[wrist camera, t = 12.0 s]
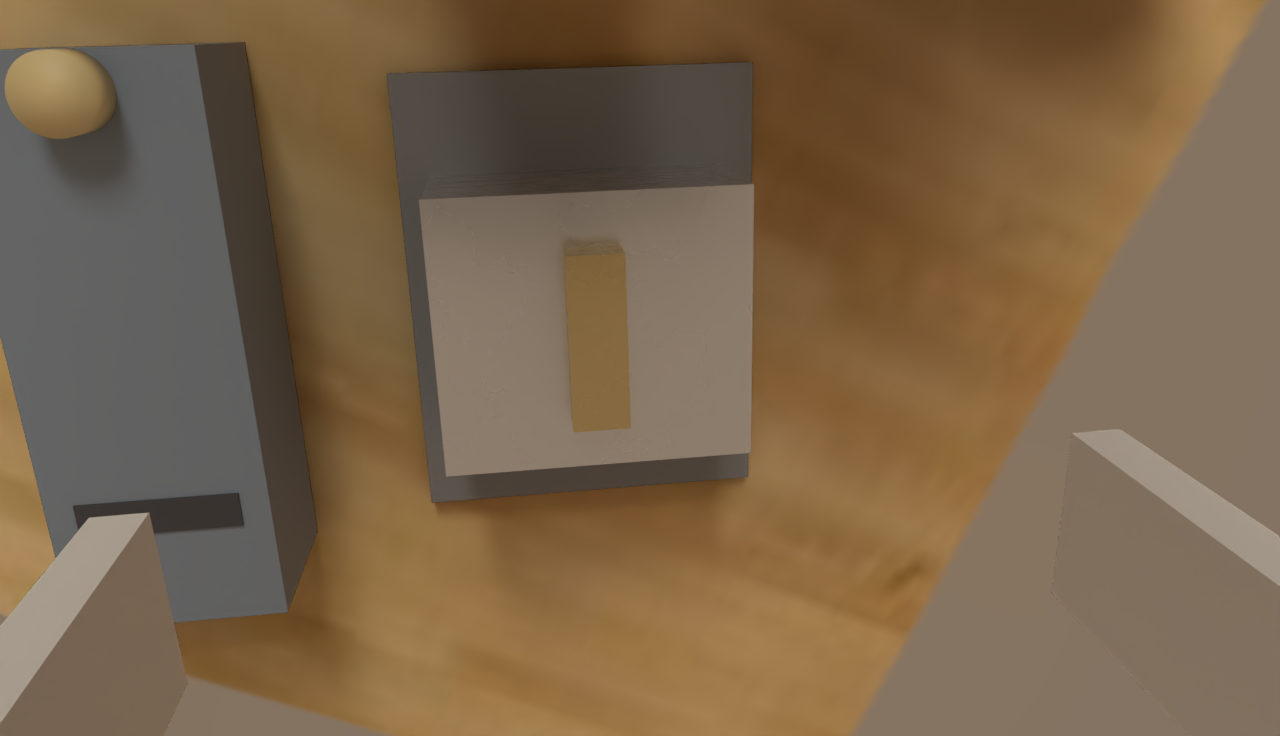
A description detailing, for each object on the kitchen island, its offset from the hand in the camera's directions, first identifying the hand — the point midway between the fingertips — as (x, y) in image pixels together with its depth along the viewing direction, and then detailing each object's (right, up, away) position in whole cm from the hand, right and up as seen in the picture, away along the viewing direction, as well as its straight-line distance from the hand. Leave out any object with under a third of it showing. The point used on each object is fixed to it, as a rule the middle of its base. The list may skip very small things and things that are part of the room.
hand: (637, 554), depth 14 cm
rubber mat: (-2, +5, +18) cm, 19 cm away
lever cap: (-2, +5, +18) cm, 19 cm away
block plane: (-14, +4, +17) cm, 22 cm away
